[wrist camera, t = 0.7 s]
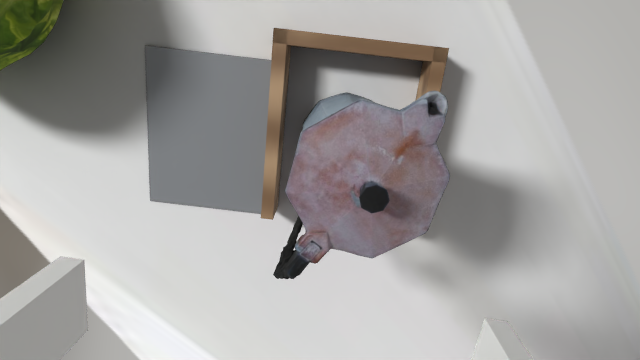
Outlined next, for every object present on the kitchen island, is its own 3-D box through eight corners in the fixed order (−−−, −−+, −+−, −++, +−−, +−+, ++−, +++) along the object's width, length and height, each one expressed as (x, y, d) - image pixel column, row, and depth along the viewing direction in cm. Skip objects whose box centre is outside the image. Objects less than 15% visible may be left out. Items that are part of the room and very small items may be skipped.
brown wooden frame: (279, 30, 35) (273, 27, 32) (438, 49, 35) (448, 48, 32) (266, 205, 40) (260, 218, 37) (404, 221, 40) (410, 235, 37)
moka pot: (430, 105, 37) (534, 154, 18) (339, 222, 41) (343, 363, 22) (352, 46, 35) (373, 30, 16) (265, 174, 39) (201, 280, 20)
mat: (146, 45, 36) (145, 45, 36) (274, 60, 36) (273, 60, 36) (150, 200, 41) (149, 200, 41) (263, 213, 41) (263, 214, 41)
